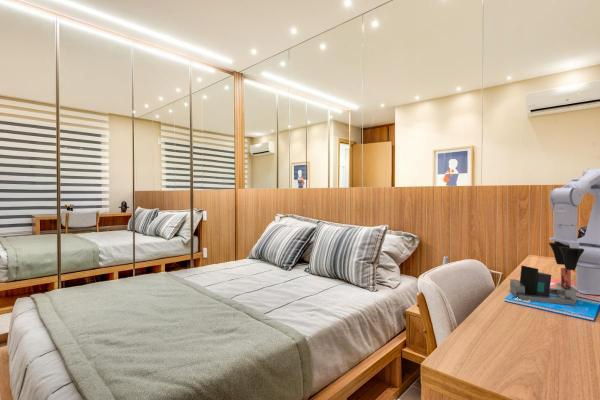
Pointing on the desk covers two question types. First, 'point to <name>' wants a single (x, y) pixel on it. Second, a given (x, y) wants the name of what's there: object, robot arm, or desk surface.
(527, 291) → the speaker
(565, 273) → the jaw slide
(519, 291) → the vise body
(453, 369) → the desk surface
